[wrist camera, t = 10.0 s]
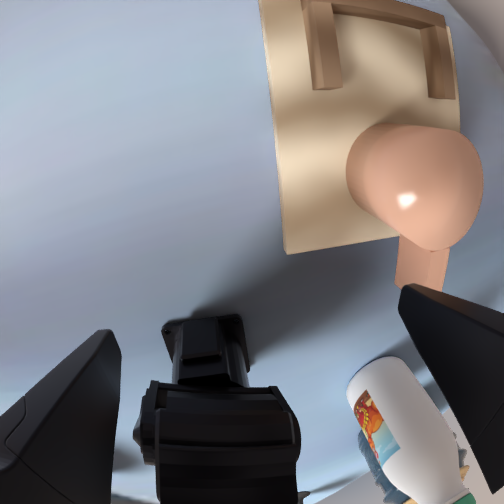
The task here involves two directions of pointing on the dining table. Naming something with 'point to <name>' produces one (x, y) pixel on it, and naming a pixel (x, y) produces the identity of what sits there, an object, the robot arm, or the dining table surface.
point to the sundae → (302, 496)
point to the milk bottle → (407, 433)
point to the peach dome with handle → (417, 192)
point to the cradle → (347, 102)
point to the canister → (394, 498)
